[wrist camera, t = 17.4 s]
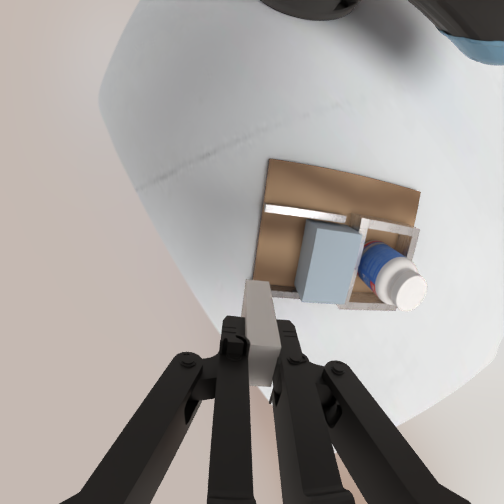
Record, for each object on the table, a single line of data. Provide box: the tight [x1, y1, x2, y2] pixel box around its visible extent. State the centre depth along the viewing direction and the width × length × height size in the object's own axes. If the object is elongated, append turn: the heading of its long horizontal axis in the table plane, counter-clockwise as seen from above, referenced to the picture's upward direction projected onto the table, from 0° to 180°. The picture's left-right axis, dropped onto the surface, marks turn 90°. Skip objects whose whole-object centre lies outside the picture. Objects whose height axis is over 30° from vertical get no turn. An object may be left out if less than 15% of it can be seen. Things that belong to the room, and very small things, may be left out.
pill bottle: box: [357, 240, 427, 312], centre depth 27 cm, size 6×5×10 cm
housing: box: [294, 219, 362, 304], centre depth 29 cm, size 8×5×4 cm, turn 173°
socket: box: [336, 213, 420, 311], centre depth 31 cm, size 11×8×3 cm
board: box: [253, 159, 421, 293], centre depth 32 cm, size 16×20×1 cm
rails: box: [264, 202, 346, 299], centre depth 30 cm, size 10×9×2 cm
